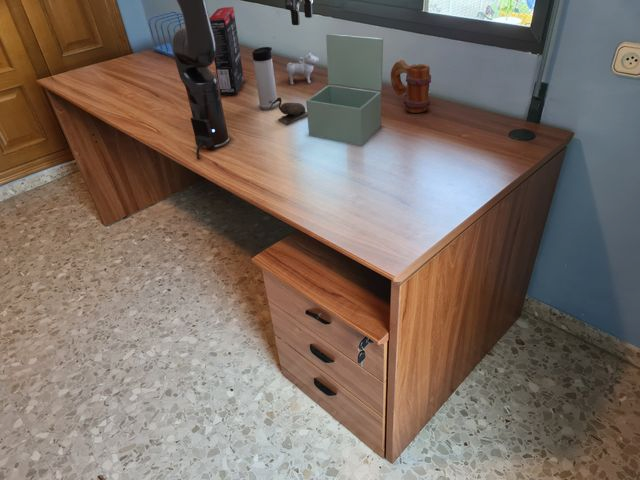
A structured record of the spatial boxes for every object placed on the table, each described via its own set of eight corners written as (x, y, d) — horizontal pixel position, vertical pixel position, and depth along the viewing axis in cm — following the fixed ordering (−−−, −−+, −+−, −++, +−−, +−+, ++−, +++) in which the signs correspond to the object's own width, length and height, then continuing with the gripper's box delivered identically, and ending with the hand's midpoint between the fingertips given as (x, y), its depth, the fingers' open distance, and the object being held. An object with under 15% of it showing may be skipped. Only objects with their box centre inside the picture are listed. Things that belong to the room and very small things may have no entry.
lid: (382, 39, 133) (390, 34, 136) (326, 34, 140) (335, 29, 144) (380, 91, 141) (388, 85, 145) (328, 83, 149) (336, 78, 153)
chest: (361, 145, 140) (360, 109, 133) (309, 135, 147) (305, 100, 140) (380, 127, 149) (381, 92, 142) (330, 118, 156) (328, 84, 150)
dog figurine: (320, 82, 184) (319, 53, 177) (287, 85, 183) (284, 56, 177) (319, 77, 188) (317, 49, 181) (287, 80, 187) (284, 52, 181)
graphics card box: (228, 81, 191) (215, 7, 175) (245, 80, 191) (233, 6, 174) (220, 97, 178) (205, 19, 161) (238, 96, 177) (225, 17, 161)
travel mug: (276, 110, 164) (268, 50, 152) (257, 110, 166) (248, 51, 153) (280, 103, 169) (273, 45, 157) (263, 103, 171) (254, 45, 158)
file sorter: (154, 51, 232) (145, 17, 223) (184, 42, 241) (177, 9, 232) (180, 60, 217) (172, 24, 208) (212, 50, 226) (205, 16, 217)
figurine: (276, 129, 152) (273, 103, 147) (268, 125, 155) (264, 99, 150) (309, 115, 159) (307, 90, 154) (301, 112, 162) (299, 87, 157)
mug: (435, 109, 156) (439, 62, 147) (421, 117, 152) (424, 70, 143) (398, 99, 165) (400, 55, 156) (384, 107, 160) (385, 62, 151)
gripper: (296, -47, 135) (301, 14, 144) (272, -39, 124) (279, 26, 134) (320, -48, 132) (324, 15, 142) (298, -39, 122) (303, 28, 132)
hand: (302, 21), depth 138 cm, fingers open, 8 cm apart
